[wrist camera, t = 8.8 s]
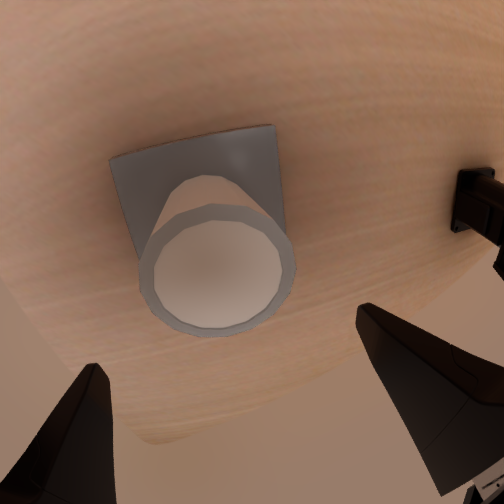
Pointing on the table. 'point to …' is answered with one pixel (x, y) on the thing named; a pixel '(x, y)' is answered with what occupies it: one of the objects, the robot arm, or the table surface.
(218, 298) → the white cup
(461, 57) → the table surface
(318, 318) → the table surface
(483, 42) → the table surface
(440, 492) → the robot arm
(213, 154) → the slate plate
